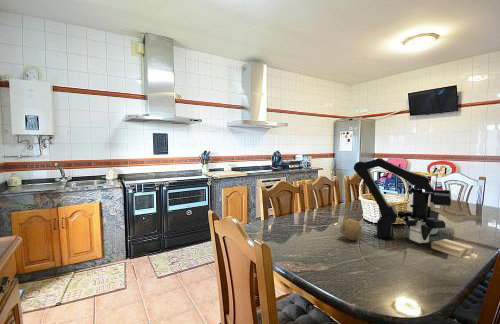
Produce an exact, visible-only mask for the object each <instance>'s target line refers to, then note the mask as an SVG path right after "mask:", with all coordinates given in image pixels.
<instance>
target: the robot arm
mask: <svg viewBox="0 0 500 324" xmlns="http://www.w3.org/2000/svg"><path fill="white" fill-rule="evenodd" d="M377 167H379V168H381V169H383V170H386V171H387V172H389V173H391V174H394V175H396V176H398V177H401V178H402V179H404V180H405V181H406V182H408V183H409V184H411V185H412V187H411V188H410V189H408V191H407V193H411V194H412V204H410V205H409V207H410V208H411V209H412V211H410V210H399V211H398V210H397V209H396V208H395V206H394V204H391V205H390V203H388V202H387V200H386V198H385V197H384V195H383V193H382V192H381V190H380V189H379V187H378V185H377V183H376V182H375V179H374V178H373V176H372V171H371V169H374V168H377ZM353 171H355V173H356V174H357V176H359V177H360V178H361V179H362V180H363V182H364V184H365V185H366V186H367V189H368V190H369V192H370V194H371V196H372V197H373V198H374V201H375V202H376V205H377V206H378V209H379V213H380V217H379V218H378V219H377V221H376V233H375V234H374V237H376V238H378V239H381V240H383V241H389V240H396V237H394V224H395V223H396V222H397V219H398V218H401V219H403V221H404V222H405V224H406V225H407V228H408V230H409V231H410V226H417V223H419V221H421V222H425V225H421V230H422V237H423V240H426V239H427V237H428V235H429V233H430V231H431V230H432V229H433V228H434V229H438V230H439V229H445V228H446V222H445V221H444V220H442V219H439V220H438V216H439V215H440V212H437V211H435V210H432V207H431V206H430V205H429V201H430V203H432V204H433V206H442V207H451V205H452V198H451V191H450V189H434V187H433V186H432V185H431V184H430V180H429V177H427V176H426V175H424V174H421V173H417V172H414V171H409V170H406V169H404V168H402V167H401V166H398V165H397V164H394V163H392V162H389V161H387V160H385V159H384V158H381V157H377V158H376V159H373V160H369V161H361V160H360V161H357V162H356V163H355V164H354V166H353ZM414 187H415V188H414ZM416 188H417V189H416ZM423 190H424V191H423ZM429 195H430V198H429ZM439 217H440V216H439ZM428 218H435V219H428ZM422 219H423V220H422ZM429 236H430V235H429Z"/></svg>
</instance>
